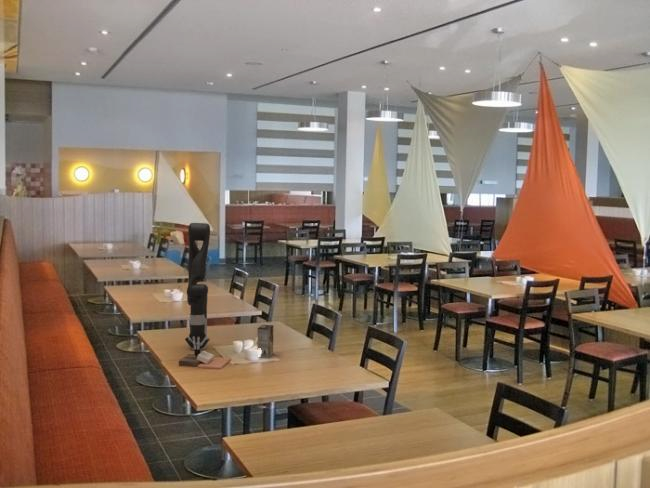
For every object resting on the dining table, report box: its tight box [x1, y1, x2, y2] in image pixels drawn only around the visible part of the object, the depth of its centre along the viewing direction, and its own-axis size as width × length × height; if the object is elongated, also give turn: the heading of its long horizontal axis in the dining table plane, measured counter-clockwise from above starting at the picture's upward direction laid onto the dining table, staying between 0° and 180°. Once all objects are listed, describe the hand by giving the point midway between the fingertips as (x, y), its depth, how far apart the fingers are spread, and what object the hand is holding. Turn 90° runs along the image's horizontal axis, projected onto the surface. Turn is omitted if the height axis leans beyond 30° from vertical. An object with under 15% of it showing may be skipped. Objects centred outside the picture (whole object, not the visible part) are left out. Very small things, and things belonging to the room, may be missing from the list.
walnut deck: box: [178, 353, 202, 368], centre depth 351 cm, size 14×10×2 cm
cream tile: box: [197, 350, 215, 364], centre depth 350 cm, size 9×6×2 cm, turn 172°
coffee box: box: [257, 324, 274, 359], centre depth 366 cm, size 9×6×16 cm
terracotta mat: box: [197, 356, 232, 370], centre depth 350 cm, size 18×12×1 cm, turn 172°
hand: (197, 356), depth 350 cm, fingers closed
